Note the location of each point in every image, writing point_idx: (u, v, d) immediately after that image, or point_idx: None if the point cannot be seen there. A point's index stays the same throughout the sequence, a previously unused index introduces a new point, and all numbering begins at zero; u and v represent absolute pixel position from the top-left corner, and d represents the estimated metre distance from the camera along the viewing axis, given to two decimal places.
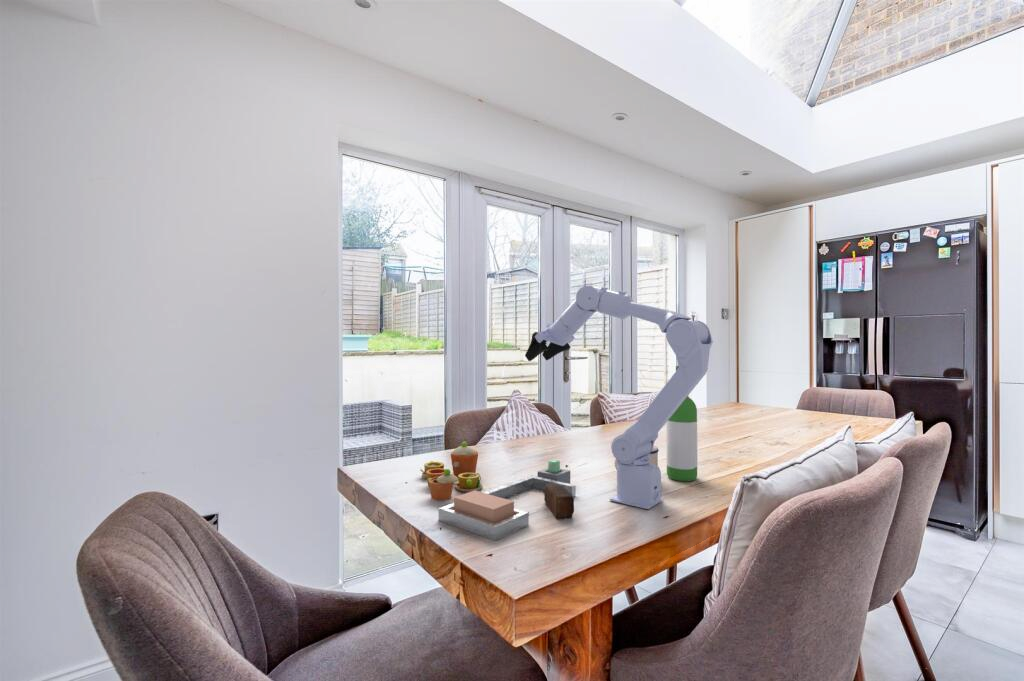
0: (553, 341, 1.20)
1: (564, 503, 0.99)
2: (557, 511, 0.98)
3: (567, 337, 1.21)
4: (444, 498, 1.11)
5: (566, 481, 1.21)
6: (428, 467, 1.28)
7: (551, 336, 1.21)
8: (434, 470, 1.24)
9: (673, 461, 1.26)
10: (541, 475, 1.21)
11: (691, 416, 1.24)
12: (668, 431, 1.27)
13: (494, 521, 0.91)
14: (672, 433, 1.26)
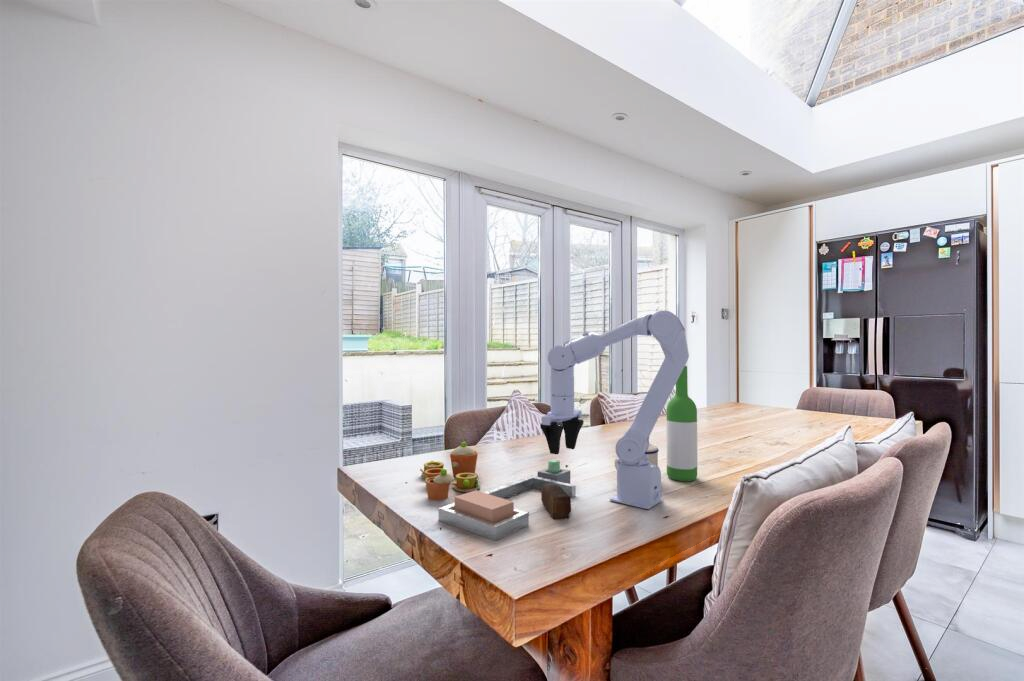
0: (561, 416, 1.13)
1: (561, 503, 0.99)
2: (554, 511, 0.98)
3: (570, 405, 1.14)
4: (440, 498, 1.11)
5: (566, 481, 1.21)
6: (427, 467, 1.28)
7: (556, 415, 1.14)
8: (433, 470, 1.24)
9: (673, 461, 1.26)
10: (541, 475, 1.21)
11: (691, 416, 1.24)
12: (668, 431, 1.27)
13: (493, 521, 0.91)
14: (672, 433, 1.26)
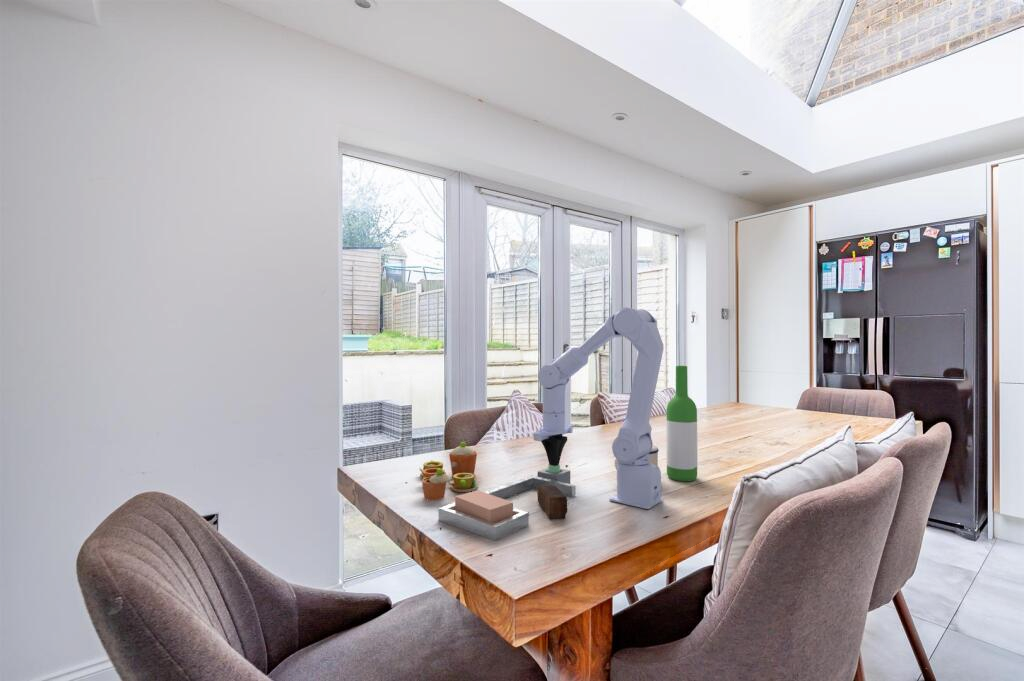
0: (552, 433, 1.19)
1: (557, 504, 0.98)
2: (550, 512, 0.98)
3: (561, 422, 1.20)
4: (436, 498, 1.11)
5: (566, 481, 1.21)
6: (426, 466, 1.29)
7: (548, 431, 1.20)
8: (431, 470, 1.24)
9: (673, 461, 1.26)
10: (541, 475, 1.21)
11: (691, 416, 1.24)
12: (668, 431, 1.27)
13: None
14: (672, 433, 1.26)
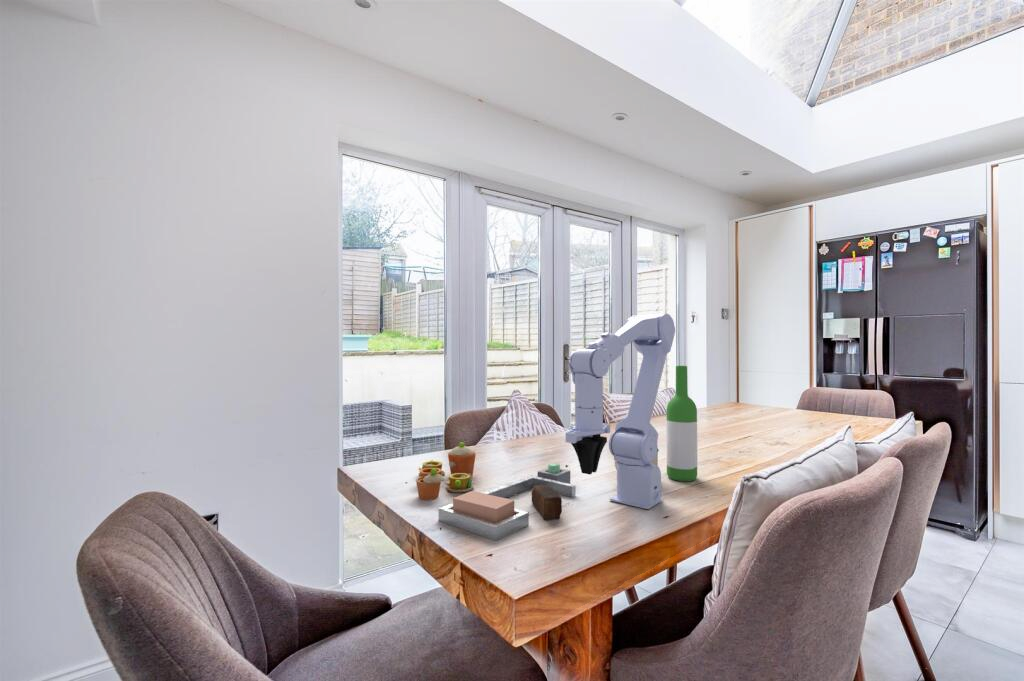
0: (588, 433, 0.95)
1: (552, 504, 0.98)
2: (545, 512, 0.98)
3: (598, 419, 0.97)
4: (430, 498, 1.11)
5: (566, 481, 1.21)
6: (425, 466, 1.29)
7: (582, 431, 0.97)
8: (429, 469, 1.24)
9: (673, 461, 1.26)
10: (541, 475, 1.21)
11: (691, 416, 1.24)
12: (668, 431, 1.27)
13: (497, 521, 0.91)
14: (672, 433, 1.26)
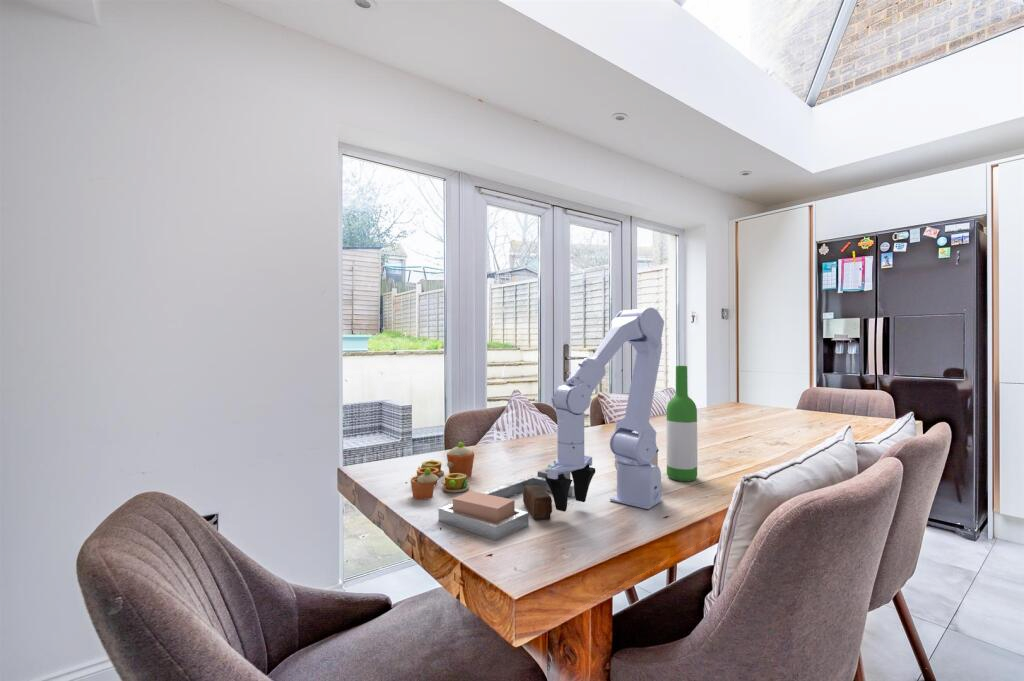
0: (569, 468, 0.98)
1: (542, 504, 0.98)
2: (535, 512, 0.98)
3: (580, 454, 1.00)
4: (423, 497, 1.11)
5: None
6: (424, 465, 1.30)
7: (564, 466, 0.99)
8: (426, 469, 1.25)
9: (673, 461, 1.26)
10: (541, 475, 1.21)
11: (691, 416, 1.24)
12: (668, 431, 1.27)
13: (498, 520, 0.91)
14: (672, 433, 1.26)
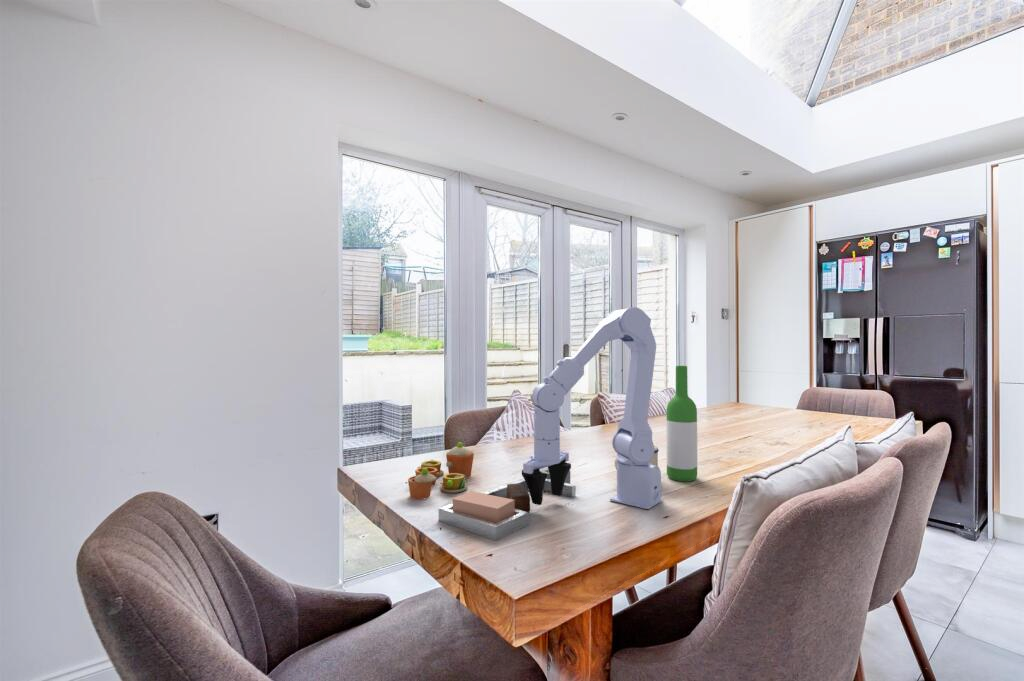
0: (544, 463, 1.02)
1: (520, 502, 0.99)
2: None
3: (555, 450, 1.04)
4: (420, 497, 1.11)
5: (566, 481, 1.21)
6: (424, 465, 1.30)
7: (540, 461, 1.03)
8: None
9: (673, 461, 1.26)
10: None
11: (691, 416, 1.24)
12: (668, 431, 1.27)
13: (498, 520, 0.91)
14: (672, 433, 1.26)
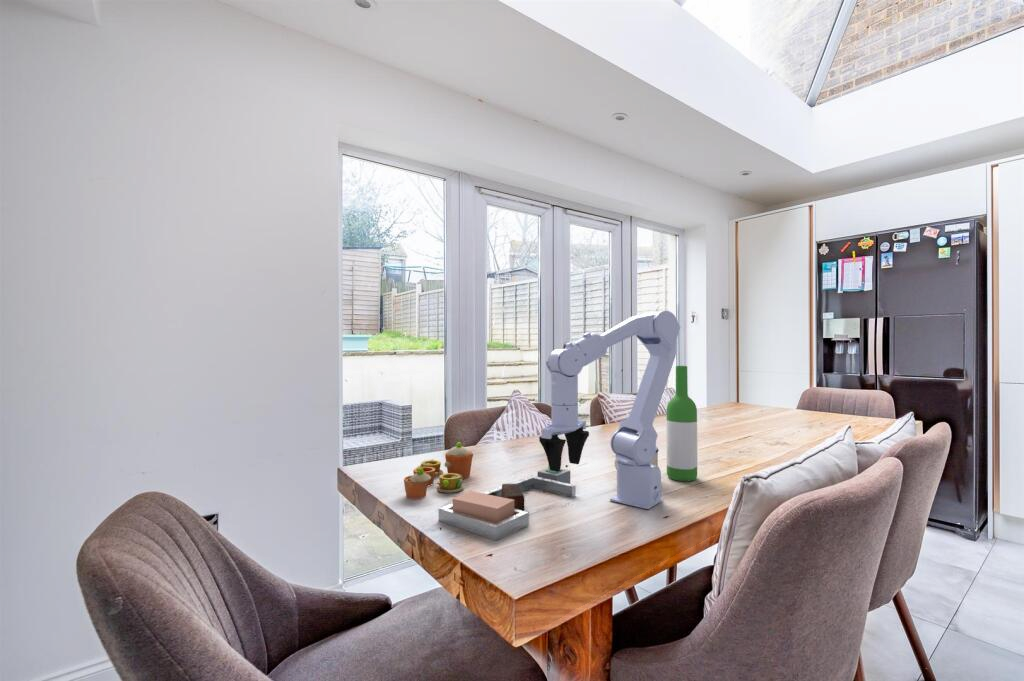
0: (563, 429, 1.00)
1: (514, 502, 0.99)
2: None
3: (573, 416, 1.01)
4: (415, 496, 1.12)
5: (566, 481, 1.21)
6: (423, 465, 1.30)
7: (558, 427, 1.01)
8: (423, 468, 1.25)
9: (673, 461, 1.26)
10: (541, 475, 1.21)
11: (691, 416, 1.24)
12: (668, 431, 1.27)
13: (498, 520, 0.91)
14: (672, 433, 1.26)
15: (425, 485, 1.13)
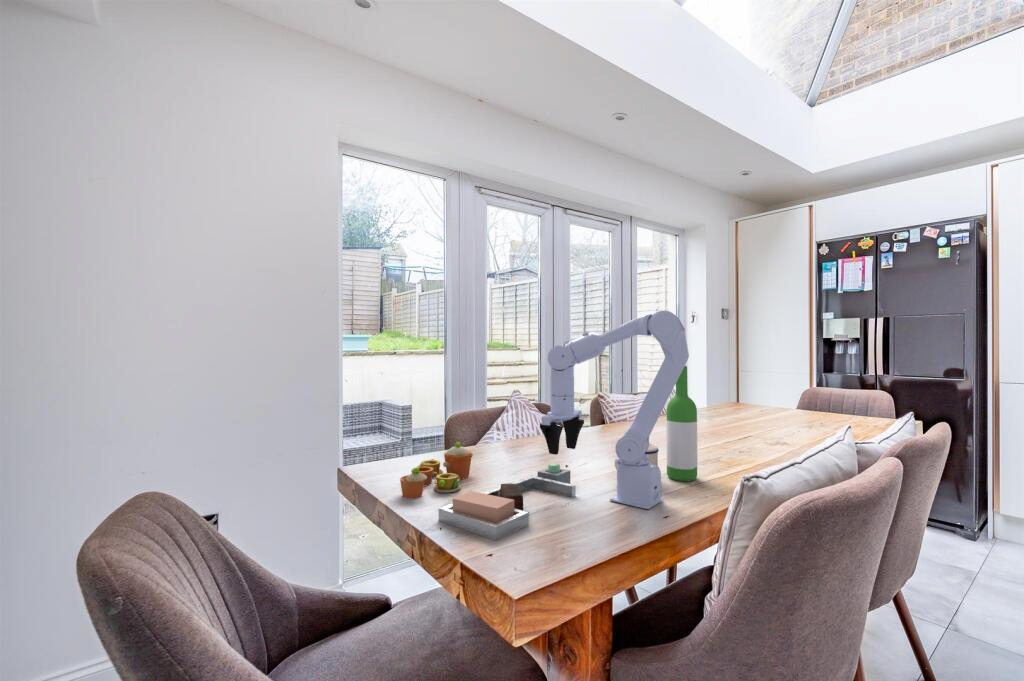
0: (561, 417, 1.13)
1: None
2: None
3: (570, 405, 1.14)
4: (411, 496, 1.12)
5: (566, 481, 1.21)
6: (422, 465, 1.31)
7: (556, 415, 1.14)
8: (422, 468, 1.26)
9: (673, 461, 1.26)
10: (541, 475, 1.21)
11: (691, 416, 1.24)
12: (668, 431, 1.27)
13: (498, 520, 0.91)
14: (672, 433, 1.26)
15: (421, 485, 1.13)
